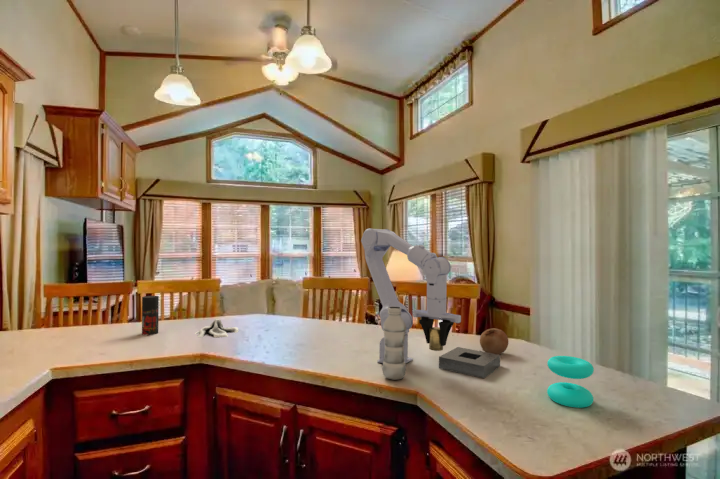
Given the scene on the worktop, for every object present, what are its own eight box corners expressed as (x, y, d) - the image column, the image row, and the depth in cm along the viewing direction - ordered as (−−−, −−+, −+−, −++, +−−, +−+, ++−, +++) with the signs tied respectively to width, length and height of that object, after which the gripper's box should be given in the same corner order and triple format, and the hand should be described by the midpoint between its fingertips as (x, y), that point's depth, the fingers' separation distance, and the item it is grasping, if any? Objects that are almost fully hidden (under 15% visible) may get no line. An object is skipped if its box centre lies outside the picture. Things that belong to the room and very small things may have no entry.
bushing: (439, 351, 113) (439, 330, 113) (426, 349, 115) (427, 328, 115) (445, 348, 116) (445, 328, 116) (433, 346, 118) (433, 326, 118)
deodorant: (138, 334, 158) (138, 297, 158) (150, 331, 163) (150, 295, 163) (150, 335, 156) (150, 298, 156) (161, 332, 162) (161, 296, 162)
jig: (484, 378, 111) (484, 366, 111) (438, 368, 119) (439, 356, 119) (500, 366, 122) (500, 354, 122) (457, 357, 130) (457, 347, 130)
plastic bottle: (390, 372, 115) (391, 304, 115) (410, 378, 110) (410, 307, 110) (377, 378, 110) (378, 307, 110) (397, 384, 105) (398, 310, 105)
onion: (492, 365, 131) (486, 341, 128) (477, 350, 140) (472, 327, 137) (516, 354, 133) (511, 330, 129) (500, 340, 142) (495, 317, 138)
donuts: (561, 366, 90) (539, 354, 100) (560, 410, 90) (539, 393, 100) (603, 366, 91) (577, 354, 101) (603, 409, 91) (577, 392, 101)
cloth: (209, 327, 174) (209, 313, 174) (247, 329, 170) (247, 315, 170) (175, 339, 153) (176, 323, 153) (218, 342, 149) (218, 326, 149)
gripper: (465, 298, 114) (464, 345, 114) (421, 294, 123) (421, 337, 123) (455, 301, 108) (454, 350, 108) (409, 296, 117) (409, 341, 117)
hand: (436, 344), depth 115 cm, fingers closed on bushing, 4 cm apart
